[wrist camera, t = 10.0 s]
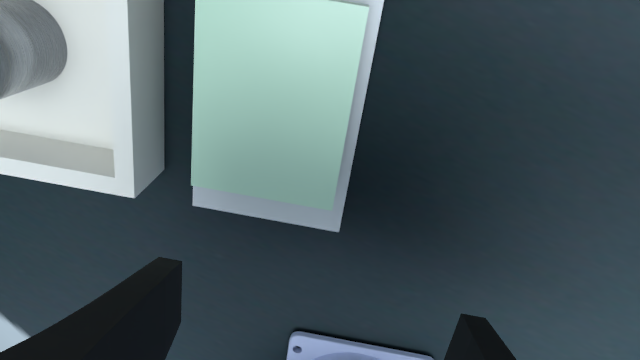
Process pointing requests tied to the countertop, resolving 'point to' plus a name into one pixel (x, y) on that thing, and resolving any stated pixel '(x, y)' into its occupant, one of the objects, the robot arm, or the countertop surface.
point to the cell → (29, 46)
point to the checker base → (333, 218)
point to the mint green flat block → (274, 96)
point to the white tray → (94, 102)
